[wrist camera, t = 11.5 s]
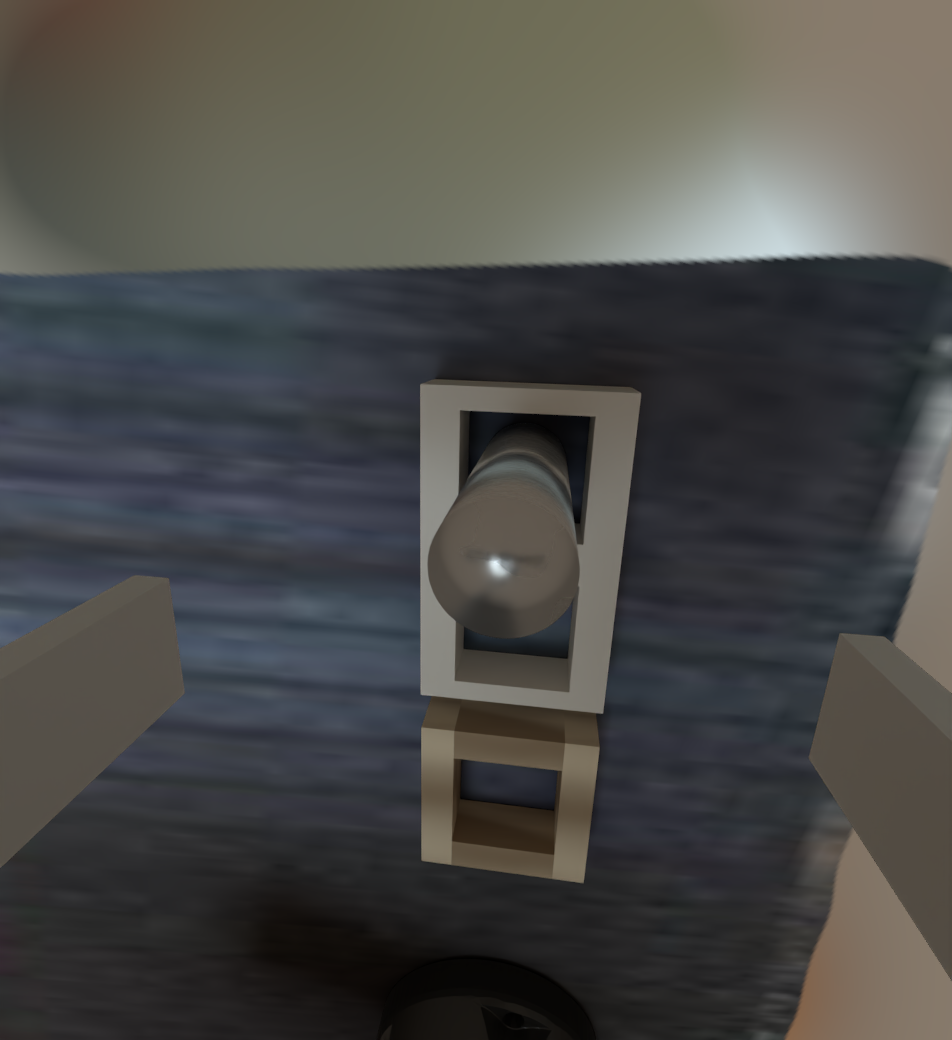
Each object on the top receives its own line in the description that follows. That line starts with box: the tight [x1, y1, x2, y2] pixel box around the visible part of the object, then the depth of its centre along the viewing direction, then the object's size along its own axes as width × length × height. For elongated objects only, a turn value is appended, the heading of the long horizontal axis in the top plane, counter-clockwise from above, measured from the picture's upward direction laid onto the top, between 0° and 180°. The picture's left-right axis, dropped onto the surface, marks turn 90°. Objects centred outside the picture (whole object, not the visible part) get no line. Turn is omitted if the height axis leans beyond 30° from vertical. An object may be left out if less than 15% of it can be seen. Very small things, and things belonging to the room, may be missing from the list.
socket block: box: [421, 696, 600, 883], centre depth 31 cm, size 9×9×3 cm
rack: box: [420, 379, 641, 714], centre depth 27 cm, size 15×9×3 cm, turn 178°
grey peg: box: [427, 423, 580, 638], centre depth 21 cm, size 4×4×13 cm
